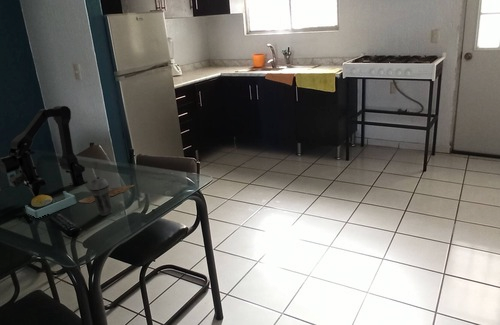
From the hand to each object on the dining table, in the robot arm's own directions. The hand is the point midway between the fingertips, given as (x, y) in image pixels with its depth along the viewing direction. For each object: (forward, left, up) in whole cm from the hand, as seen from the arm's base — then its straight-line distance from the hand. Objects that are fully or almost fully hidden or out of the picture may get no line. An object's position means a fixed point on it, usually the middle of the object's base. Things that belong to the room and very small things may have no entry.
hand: (36, 197), depth 189 cm
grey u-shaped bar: (+16, 0, -2) cm, 16 cm away
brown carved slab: (+25, +22, -3) cm, 33 cm away
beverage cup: (+44, +10, -2) cm, 45 cm away
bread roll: (+5, 0, -2) cm, 6 cm away
